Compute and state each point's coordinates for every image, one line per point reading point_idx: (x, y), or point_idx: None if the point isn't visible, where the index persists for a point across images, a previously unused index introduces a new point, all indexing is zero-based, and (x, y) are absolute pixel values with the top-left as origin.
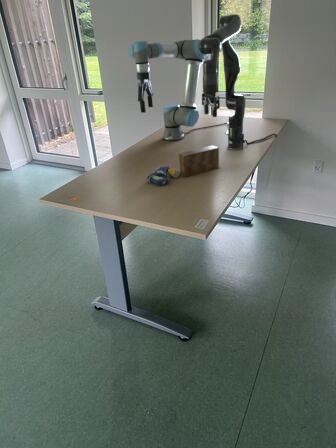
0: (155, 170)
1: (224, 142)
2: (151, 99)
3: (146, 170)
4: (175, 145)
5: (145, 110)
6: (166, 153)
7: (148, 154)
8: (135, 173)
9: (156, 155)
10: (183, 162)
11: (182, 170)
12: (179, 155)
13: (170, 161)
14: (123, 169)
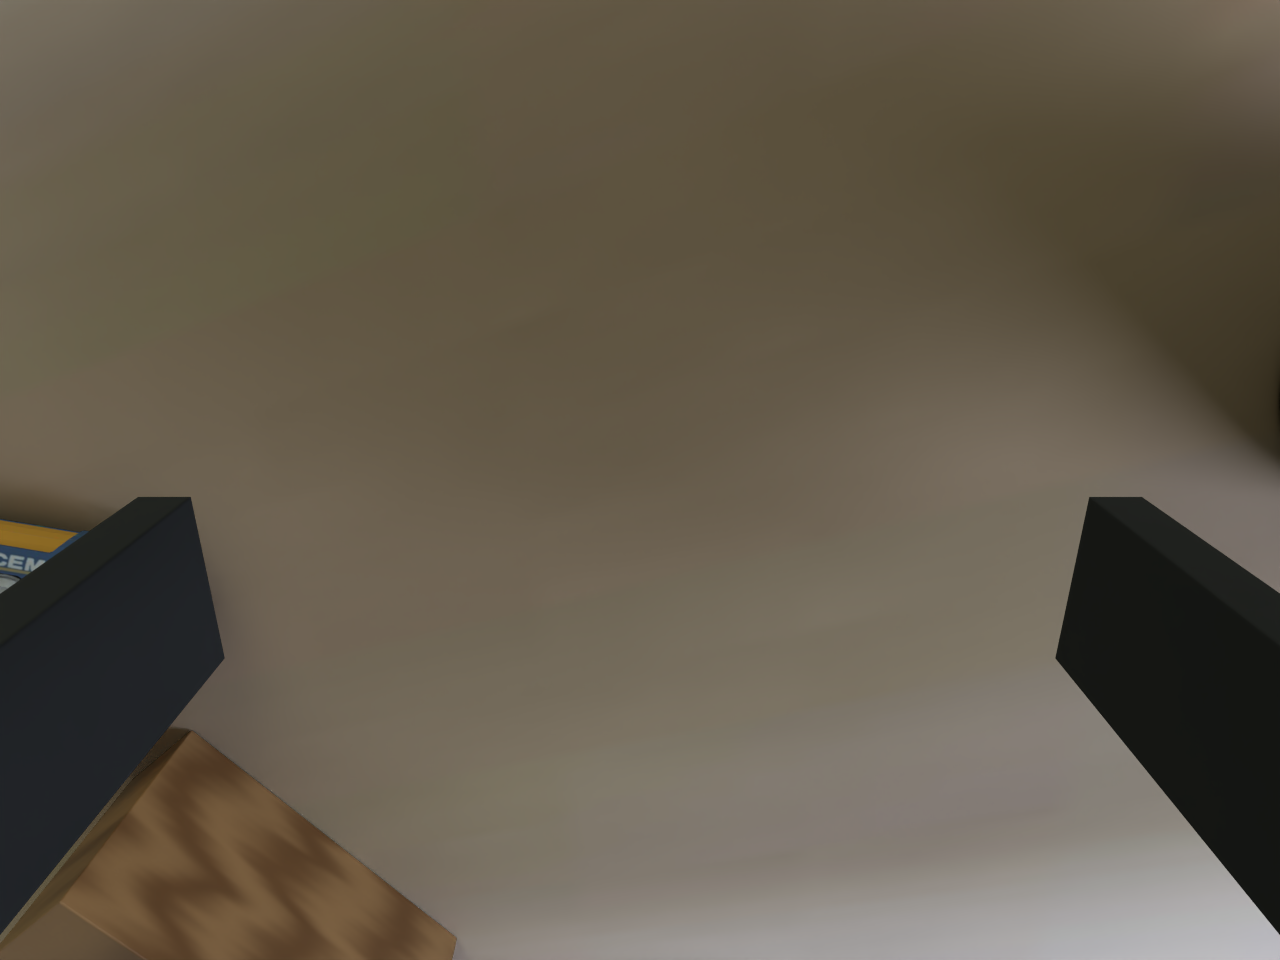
0: (5, 557)
1: (1095, 942)
2: (1257, 888)
3: (164, 370)
4: (1067, 475)
5: (182, 699)
6: (755, 442)
7: (709, 200)
8: (35, 264)
9: (675, 332)
10: (46, 888)
11: (129, 794)
12: (68, 885)
13: (490, 560)
14: (96, 30)
